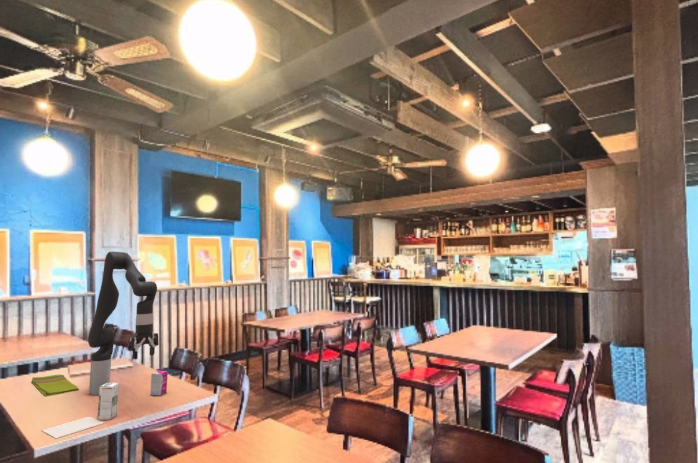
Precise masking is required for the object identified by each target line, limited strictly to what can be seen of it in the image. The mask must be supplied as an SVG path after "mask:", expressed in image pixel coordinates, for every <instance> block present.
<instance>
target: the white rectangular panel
mask: <svg viewBox="0 0 698 463" xmlns="http://www.w3.org/2000/svg"><path fill="white" fill-rule="evenodd" d="M104 424H105V422H103V421H102V420H97V418H94V417H92V416H86V417H82V418H79V419H76V420H73V421H69V422H65V423H62V424H59V425H55V426H53V427H49V428H45V429H42V430H41V432H43V433H44V434H46V435H48V436H50V437H52V438H53V439H55V440H56V439H57V440H58V439H61V438H63V437H66V436H69V435H72V434H75V433H79V432H82V431H85V430H88V429H92V428H95V427H99V426H101V425H104ZM91 427H92V428H91Z"/></svg>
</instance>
